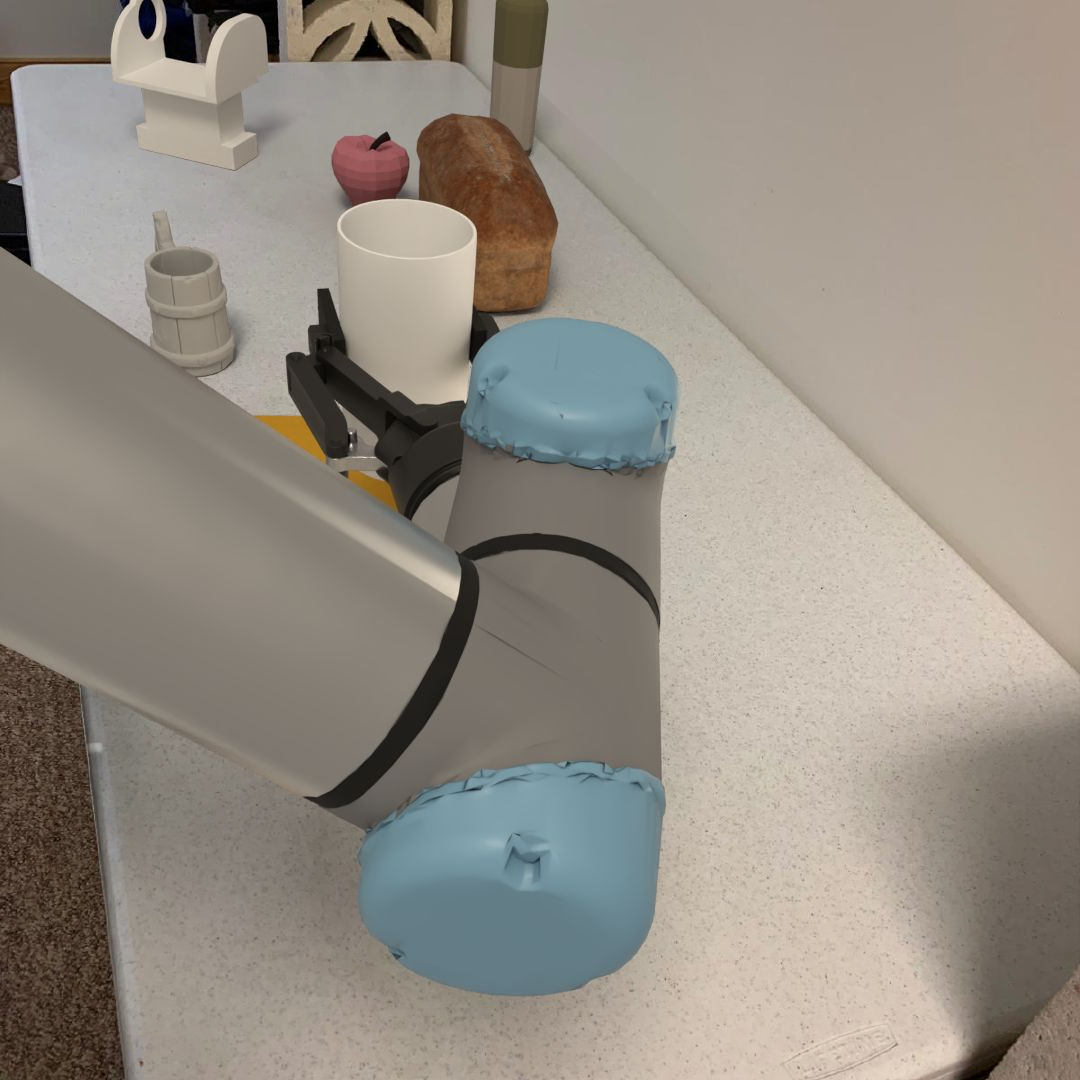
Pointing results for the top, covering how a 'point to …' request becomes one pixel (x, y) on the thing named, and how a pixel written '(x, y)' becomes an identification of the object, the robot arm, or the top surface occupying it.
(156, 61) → the white holder stand
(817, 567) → the top surface
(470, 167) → the bread
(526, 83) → the bottle
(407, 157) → the apple
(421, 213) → the cup
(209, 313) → the mug
